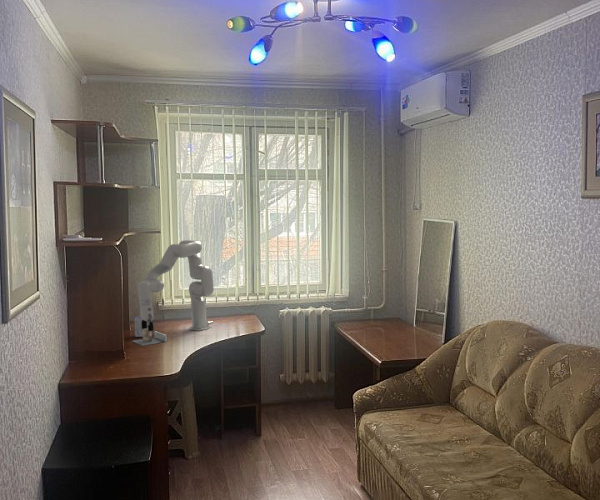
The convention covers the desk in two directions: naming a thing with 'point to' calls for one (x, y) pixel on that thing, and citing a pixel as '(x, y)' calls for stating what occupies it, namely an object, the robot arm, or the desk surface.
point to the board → (140, 342)
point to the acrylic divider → (160, 336)
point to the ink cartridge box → (139, 327)
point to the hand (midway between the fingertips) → (147, 329)
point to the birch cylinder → (147, 336)
